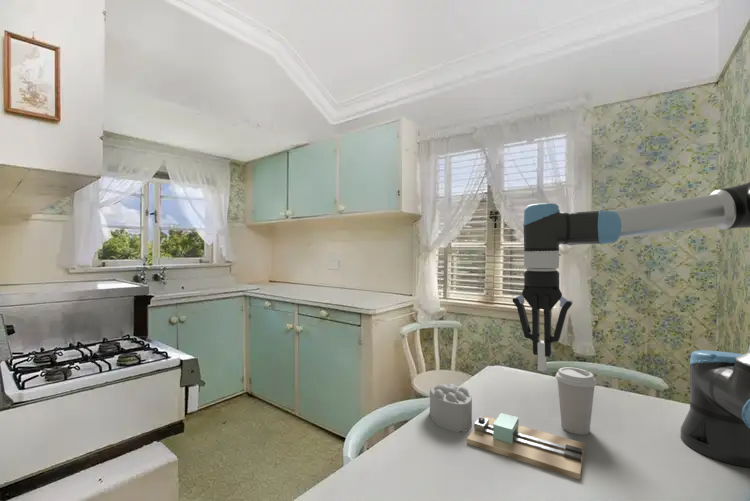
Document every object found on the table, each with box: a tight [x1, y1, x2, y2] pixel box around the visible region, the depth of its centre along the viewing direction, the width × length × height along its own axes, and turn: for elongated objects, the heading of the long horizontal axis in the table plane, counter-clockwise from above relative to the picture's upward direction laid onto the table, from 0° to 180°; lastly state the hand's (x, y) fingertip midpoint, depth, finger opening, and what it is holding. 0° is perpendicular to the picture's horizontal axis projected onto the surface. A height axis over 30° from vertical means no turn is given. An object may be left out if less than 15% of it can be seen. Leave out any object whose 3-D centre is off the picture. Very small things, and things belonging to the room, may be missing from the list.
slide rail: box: [473, 416, 582, 462], centre depth 84 cm, size 24×4×2 cm, turn 56°
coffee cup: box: [554, 366, 598, 436], centre depth 93 cm, size 10×10×15 cm
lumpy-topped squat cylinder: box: [429, 383, 473, 432], centre depth 97 cm, size 10×13×9 cm
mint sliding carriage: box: [493, 412, 520, 444], centre depth 87 cm, size 4×7×4 cm, turn 146°
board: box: [466, 415, 585, 480], centre depth 84 cm, size 24×14×1 cm, turn 56°
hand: (542, 369), depth 82 cm, fingers closed
